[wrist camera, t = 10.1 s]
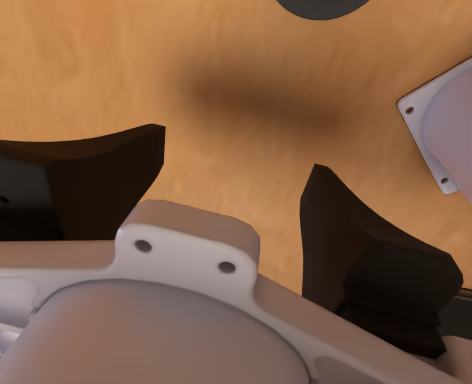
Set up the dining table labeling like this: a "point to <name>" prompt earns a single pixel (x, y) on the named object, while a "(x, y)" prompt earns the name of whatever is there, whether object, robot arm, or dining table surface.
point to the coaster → (321, 8)
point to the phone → (457, 316)
